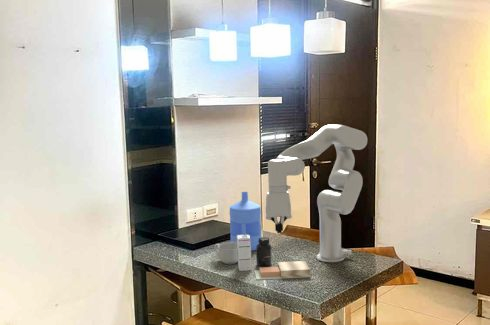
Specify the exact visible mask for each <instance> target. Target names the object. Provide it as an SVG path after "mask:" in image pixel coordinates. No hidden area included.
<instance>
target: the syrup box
mask: <svg viewBox="0 0 490 325" xmlns="http://www.w3.org/2000/svg"><path fill="white" fill-rule="evenodd" d="M237 251H238V262H237V266H238V268H237V269H238V271H240V272H243V271H245V272H246V271H247V272H248V271H252V270H253V269H252V268H253V265H252V251H251V242H250V236H249V235H237Z"/></svg>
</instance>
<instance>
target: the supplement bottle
mask: <svg viewBox="0 0 490 325" xmlns="http://www.w3.org/2000/svg"><path fill="white" fill-rule="evenodd" d="M258 243H259V244H258V245H257V246H256V250H255V252H256V253H255V255H256V256H255V258H256V259H255V262H256V265H257V266H258V267H260V268H261V267H271V265H272V264H273V263H272V261H273V260H272V254H273V253H272V252H273V250H272V245H271V243H270V238H269V237H266V236H263V237H262V236H261V238H259V241H258Z"/></svg>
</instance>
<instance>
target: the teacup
mask: <svg viewBox="0 0 490 325" xmlns="http://www.w3.org/2000/svg"><path fill="white" fill-rule="evenodd" d="M213 249H214V251H215V253H216V254H217V255H218V258H219V260H220V261H221V262H222V263H223V264H225V265H234V264H238V251H237V242H231V241H227V242H222V243H215V244H214V246H213Z"/></svg>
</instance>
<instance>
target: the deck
mask: <svg viewBox="0 0 490 325" xmlns="http://www.w3.org/2000/svg"><path fill="white" fill-rule="evenodd" d="M277 267H279V270H280V276H281V278H282V279H289V278H288V277H302V278H309V277H308V276H311V269H310V267H309V265H308V263H307V262H306V260H300V261H299V260H298V261H295V260H294V261H277Z"/></svg>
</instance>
